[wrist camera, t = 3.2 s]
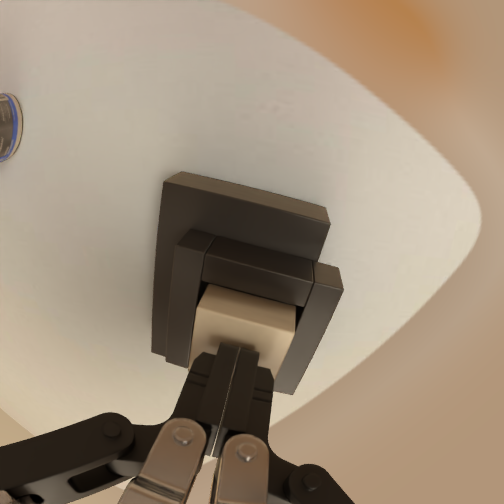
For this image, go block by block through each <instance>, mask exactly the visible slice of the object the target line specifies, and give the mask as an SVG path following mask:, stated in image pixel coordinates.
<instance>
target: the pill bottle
mask: <svg viewBox="0 0 504 504" xmlns="http://www.w3.org/2000/svg"><path fill="white" fill-rule="evenodd" d="M21 133H22V114H21V110H20V107H19V104H18V102H17V100H16V99H15V97H14V96H13V95H11V94H8V93H3V94H0V162H2V161H5V160H7V159H8V158H10V157H11V156H12V155H13V153H14V152H15V150H16V148H17V146H18V144H19V142H20V138H21Z"/></svg>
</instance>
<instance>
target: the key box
mask: <svg viewBox="0 0 504 504" xmlns="http://www.w3.org/2000/svg"><path fill="white" fill-rule="evenodd" d="M330 225H331V224H330V220H329V217H328V214H327V210H326V208H325V207H322V206H318V205H315V204H311V203H308V202H304V201H300V200H297V199H293V198H289V197H286V196H282V195H278V194H274V193H270V192H267V191H263V190H259V189H255V188H251V187H247V186H243V185H239V184H234V183H230V182H226V181H222V180H218V179H213V178H209V177H204V176H200V175H195V174H191V173H186V172H180V173H178V174H176V175H174V176H173V177H171V178H169V179H167V180H165V181H164V182H163V190H162V198H161V206H160V215H159V224H158V234H157V245H156V258H155V271H154V287H153V308H152V347H151V352H153V353H155V354H158V355H161V356H164V357H166V362H168V363H172V364H175V365H178V366H181V367H184V368H188V366H189V359H190V351H191V344H192V337H193V330H194V323H195V316H196V309H197V306H198V304H199V302H200V300H201V298H202V296H203V294H204V292H205V290H206V288H207V286H208V284H213V285H217V286H221V287H224V288H228V289H232V290H235V291H239V292H243V293H247V294H251V295H254V296H258V297H262V298H266V299H270V300H274V301H278V302H282V303H286V304H290V305H294V306H295V307H296V317H295V335H294V337H293V340H292V342H291V344H290V347H289V349H288V351H287V354H286V356H285V358H284V361H283V363H282V365H281V368H280V370H279V372H278V374H277V377H276V379H275V381H274V388H273V391H275V392H280V393H285V394H290V395H293V393H294V392H295V390H296V388H297V386H298V384H299V382H300V380H301V379H302V377H303V375H304V373H305V371H306V369H307V367H308V365H309V363H310V361H311V359H312V357H313V355H314V353H315V351H316V349H317V347H318V345H319V343H320V341H321V339H322V337H323V335H324V333H325V330H326V328H327V326H328V324H329V322H330V320H331V318H332V315H333V313H334V311H335V309H336V307H337V304H338V302H339V300H340V298H341V295H342V293H343V291H344V288H343V284H342V280H341V275H340V271H339V268H338V267H335V266H331V265H327V264H323V263H320V262H318V259H319V256H320V254H321V251H322V248H323V245H324V242H325V239H326V236H327V233H328V231H329V228H330Z"/></svg>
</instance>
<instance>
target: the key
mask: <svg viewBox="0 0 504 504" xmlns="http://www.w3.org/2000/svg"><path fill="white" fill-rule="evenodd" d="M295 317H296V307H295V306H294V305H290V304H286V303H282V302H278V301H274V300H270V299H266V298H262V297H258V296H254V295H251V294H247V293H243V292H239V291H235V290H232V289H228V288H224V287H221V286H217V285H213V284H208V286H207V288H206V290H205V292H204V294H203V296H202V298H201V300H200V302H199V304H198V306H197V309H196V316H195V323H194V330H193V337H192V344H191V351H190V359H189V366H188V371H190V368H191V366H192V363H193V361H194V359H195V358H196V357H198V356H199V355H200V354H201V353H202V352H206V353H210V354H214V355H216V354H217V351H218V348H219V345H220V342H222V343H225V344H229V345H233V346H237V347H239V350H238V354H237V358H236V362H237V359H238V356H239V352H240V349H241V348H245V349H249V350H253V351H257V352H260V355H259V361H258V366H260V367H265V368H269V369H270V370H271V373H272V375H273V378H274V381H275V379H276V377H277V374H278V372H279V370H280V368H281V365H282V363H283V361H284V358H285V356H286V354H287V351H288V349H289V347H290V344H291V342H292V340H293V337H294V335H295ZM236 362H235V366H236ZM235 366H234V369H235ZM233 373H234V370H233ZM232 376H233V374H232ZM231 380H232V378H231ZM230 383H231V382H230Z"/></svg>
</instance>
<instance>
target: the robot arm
mask: <svg viewBox="0 0 504 504" xmlns="http://www.w3.org/2000/svg"><path fill="white" fill-rule="evenodd" d="M238 350H239V347H237V346H233V345H229V344H225V343H222V342H220V345H219V348H218V351H217V354H216V355H214V354H210V353H206V352H202V353H201V354H200V355H199V356H198V357H196V358H195V359H194V361H193V363H192V366H191V368H190V371H189V373H188V376H187V379H186V381H185V384H184V386H183V389H182V391H181V394H180V396H179V399H178V401H177V404H176V407H175V409H174V412H173V414H172V415H171V417H170V418H169V419H168V420H167V421H165V422H163V423H161V424H158V425H136V424H131V422H130V421H129V420H128V419H127V418H126V417H124V416H123V415H120V414H118V413H112V412H108V413H103V414H100V415H97V416H95V417H92V418H89V419H87V420H84V421H81V422H78V423H75V424H73V425H70V426H67V427H64V428H61V429H58V430H55V431H52V432H49V433H46V434H43V435H39V436H36V437H33V438H30V439H27V440H23V441H20V442H16V443H13V444H9V445H6V446H1V447H0V504H67V503H70V502H73V501H75V500H78V499H81V498H84V497H87V496H89V495H92V494H94V493H97V492H100V491H102V490H104V489H107V488H109V487H112V486H114V485H116V484H119V483H121V482H123V481H126V480H128V479H130V478H132V477H135V478H133V479H132V480H131V481H130V482H129V483H128V485H127V487H126V489H125V490H124V492H123V494H122V496H121V498H120V500H119V502H118V504H186V502H187V499H188V497H189V494H190V492H191V489H192V487H193V484H194V481H195V479H196V476H197V474H198V473H199V471H200V469H201V467H202V463H203V459H204V456H205V455H208V456H210V455H211V452H212V449H213V445H214V442H215V439H216V436H217V439H216V443H215V447H214V451H213V455H212V457H216V458H218V460H217V464H216V468H215V471H214V474H213V478H212V484H211V491H210V498H209V504H355V503H353V501H352V500H351V499H350V498H349V497H348V496H347V494H346V493H345V492H344V491H343V490H342V489H341V487H340V486H339V485H338V484H337V483H336V482H335V480H334V479H333V478H332V477H331V476H330V475H329V473H328V472H327V471H326V470H325V469H324V468H322V467H320V466H318V465H314V464H304V465H301V466H296V465H294V464H291V463H289V462H287V461H285V460H283V459H281V458H279V457H278V456H277V455H276V454H275V453H274V452H273V451H272V450H271V448H270V446H269V444H268V430H269V423H270V414H271V406H272V397H273V388H274V378H273V375H272V373H271V370H270V369H269V368H265V367H260V366H258V361H259V355H260V352H257V351H253V350H249V349H245V348H241V349H240V352H239V356H238V359H237V362H236V358H237V354H238ZM235 362H236V366H235ZM234 366H235V369H234ZM233 370H234V373H233ZM232 374H233V376H232ZM231 378H232V380H231ZM230 382H231V384H230ZM229 386H230V388H229ZM228 390H229V392H228ZM227 394H228V396H227ZM226 398H227V400H226ZM225 402H226V404H225ZM224 406H225V408H224ZM223 410H224V412H223ZM222 414H223V416H222ZM221 418H222V419H221ZM220 422H221V423H220ZM219 426H220V427H219ZM218 429H219V431H218ZM217 433H218V435H217Z"/></svg>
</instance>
